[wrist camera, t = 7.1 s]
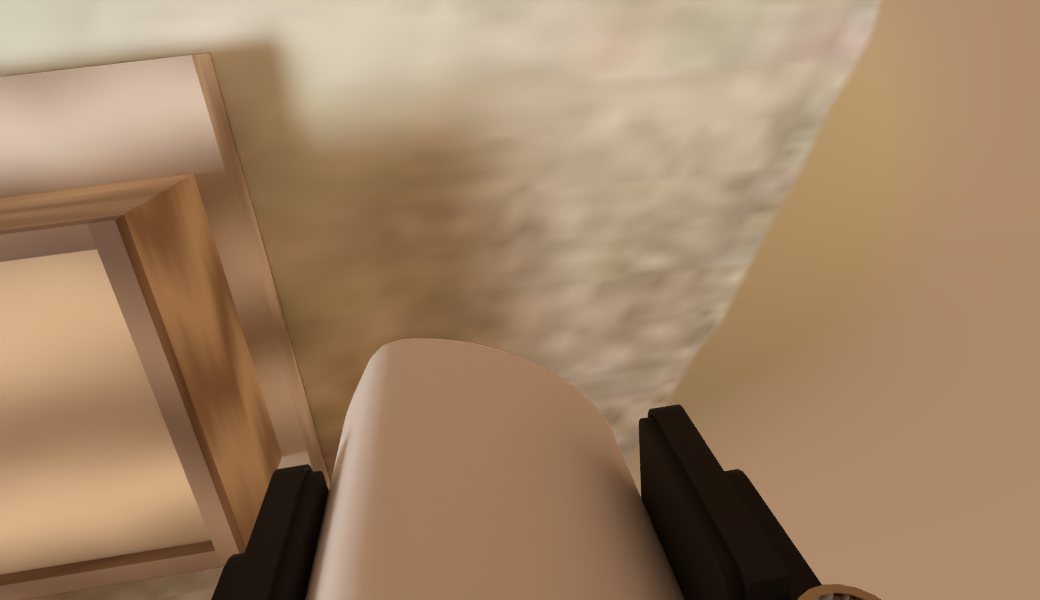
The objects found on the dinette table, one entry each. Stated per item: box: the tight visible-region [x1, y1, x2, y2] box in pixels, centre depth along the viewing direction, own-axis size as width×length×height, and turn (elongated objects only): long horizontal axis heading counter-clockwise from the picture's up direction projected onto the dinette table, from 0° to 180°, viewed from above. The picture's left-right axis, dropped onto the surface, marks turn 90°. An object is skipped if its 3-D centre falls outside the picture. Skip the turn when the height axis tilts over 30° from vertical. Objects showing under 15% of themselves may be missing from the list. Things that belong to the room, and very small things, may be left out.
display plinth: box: [0, 53, 331, 600], centre depth 25 cm, size 22×14×9 cm, turn 6°
